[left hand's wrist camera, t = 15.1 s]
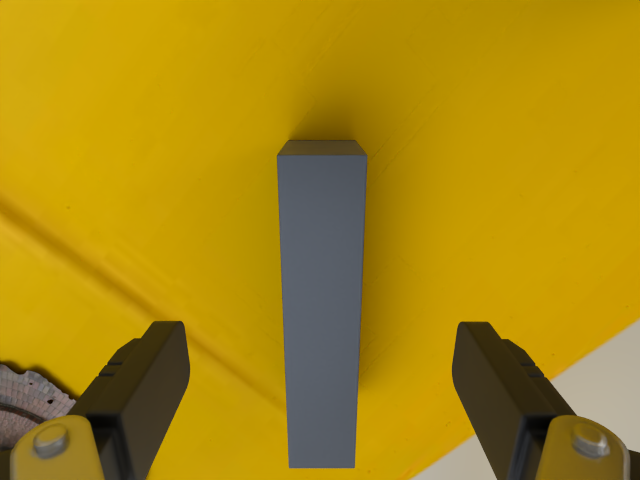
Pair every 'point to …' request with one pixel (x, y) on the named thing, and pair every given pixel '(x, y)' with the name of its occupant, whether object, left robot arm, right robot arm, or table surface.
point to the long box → (321, 296)
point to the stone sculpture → (27, 404)
